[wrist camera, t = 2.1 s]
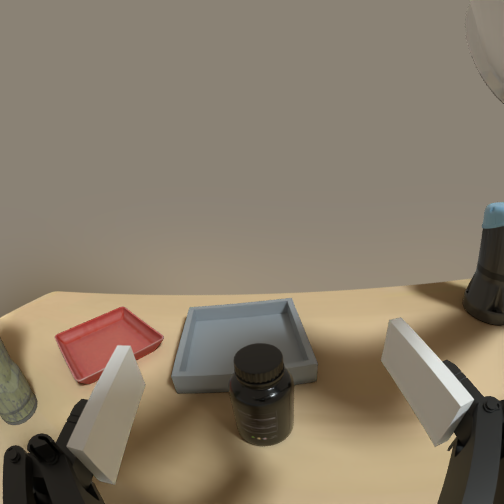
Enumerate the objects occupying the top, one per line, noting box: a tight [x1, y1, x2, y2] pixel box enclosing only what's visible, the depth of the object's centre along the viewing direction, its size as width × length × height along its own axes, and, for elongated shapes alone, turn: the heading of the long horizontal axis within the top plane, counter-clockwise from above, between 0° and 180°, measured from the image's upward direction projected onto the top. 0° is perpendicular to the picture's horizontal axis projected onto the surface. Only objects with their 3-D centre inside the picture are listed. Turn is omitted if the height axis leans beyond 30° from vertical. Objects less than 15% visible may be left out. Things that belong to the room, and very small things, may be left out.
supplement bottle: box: [228, 343, 294, 446], centre depth 27 cm, size 7×7×12 cm
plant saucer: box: [55, 307, 164, 384], centre depth 45 cm, size 18×18×3 cm
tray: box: [171, 298, 318, 393], centre depth 45 cm, size 20×20×4 cm
